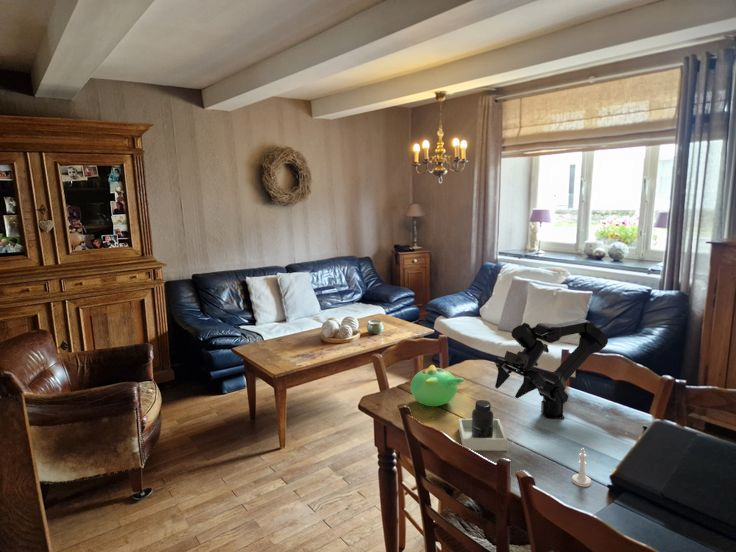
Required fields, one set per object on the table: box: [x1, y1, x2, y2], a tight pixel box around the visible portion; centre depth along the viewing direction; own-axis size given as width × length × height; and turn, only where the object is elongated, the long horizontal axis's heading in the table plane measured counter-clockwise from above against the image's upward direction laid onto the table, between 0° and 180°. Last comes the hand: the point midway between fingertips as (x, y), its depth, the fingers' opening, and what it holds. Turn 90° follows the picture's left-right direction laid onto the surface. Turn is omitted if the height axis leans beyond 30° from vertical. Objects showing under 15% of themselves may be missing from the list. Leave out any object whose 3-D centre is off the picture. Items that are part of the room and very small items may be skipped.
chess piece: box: [571, 447, 592, 488], centre depth 129 cm, size 5×5×10 cm
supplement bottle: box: [471, 399, 494, 438], centre depth 152 cm, size 7×7×12 cm
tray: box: [458, 418, 508, 452], centre depth 153 cm, size 14×14×4 cm
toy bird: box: [410, 364, 465, 407], centre depth 179 cm, size 18×17×15 cm
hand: (505, 392), depth 156 cm, fingers open, 9 cm apart
